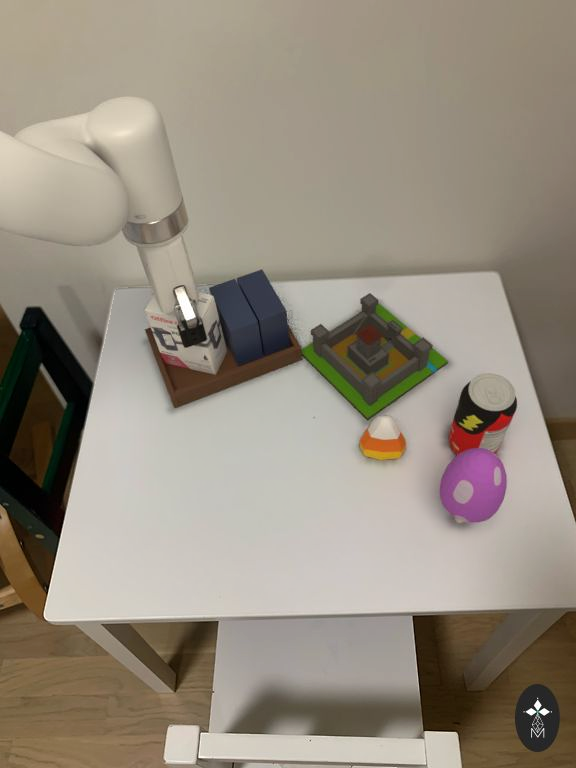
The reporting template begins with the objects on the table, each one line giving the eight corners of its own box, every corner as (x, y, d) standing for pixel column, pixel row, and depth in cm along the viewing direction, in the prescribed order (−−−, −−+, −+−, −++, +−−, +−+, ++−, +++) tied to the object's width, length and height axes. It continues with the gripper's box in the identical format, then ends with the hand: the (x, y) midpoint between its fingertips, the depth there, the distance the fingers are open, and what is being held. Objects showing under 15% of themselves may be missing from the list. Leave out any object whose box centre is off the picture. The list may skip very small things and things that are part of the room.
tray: (174, 408, 83) (170, 397, 81) (149, 341, 91) (144, 329, 88) (302, 359, 87) (301, 347, 84) (267, 298, 94) (266, 286, 92)
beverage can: (487, 419, 79) (508, 364, 69) (505, 461, 75) (530, 409, 65) (441, 427, 78) (455, 373, 69) (456, 469, 75) (474, 419, 65)
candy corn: (358, 459, 76) (359, 427, 70) (359, 439, 78) (361, 406, 72) (405, 463, 76) (411, 430, 69) (405, 442, 77) (411, 409, 71)
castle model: (299, 353, 87) (296, 319, 81) (376, 304, 92) (379, 268, 86) (367, 420, 80) (369, 389, 74) (447, 363, 84) (456, 329, 78)
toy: (492, 546, 69) (525, 490, 57) (433, 545, 69) (454, 489, 57) (483, 493, 73) (513, 430, 60) (428, 492, 73) (446, 430, 61)
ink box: (162, 364, 87) (140, 309, 77) (176, 339, 89) (156, 282, 80) (216, 376, 85) (201, 321, 75) (228, 350, 88) (215, 294, 78)
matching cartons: (238, 367, 86) (229, 331, 79) (217, 324, 91) (208, 287, 84) (290, 347, 87) (286, 310, 80) (267, 306, 92) (262, 268, 85)
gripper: (103, 182, 70) (141, 285, 84) (139, 275, 61) (176, 374, 75) (163, 164, 72) (191, 268, 86) (208, 252, 62) (232, 353, 76)
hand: (184, 317), depth 80 cm, fingers open, 9 cm apart
